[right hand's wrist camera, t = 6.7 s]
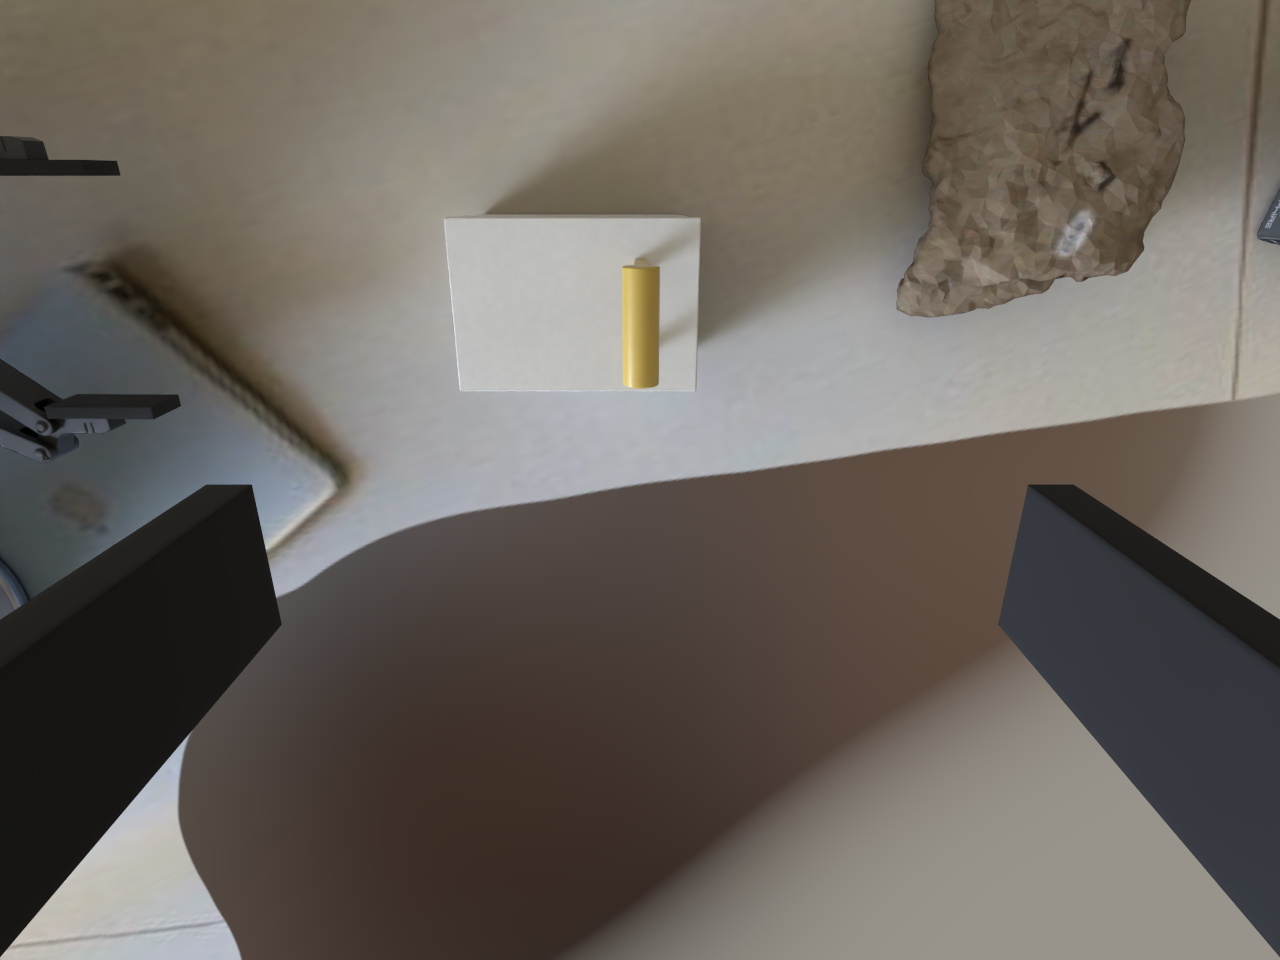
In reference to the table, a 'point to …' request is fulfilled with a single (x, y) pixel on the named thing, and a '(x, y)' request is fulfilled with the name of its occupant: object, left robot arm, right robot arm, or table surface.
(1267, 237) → the graphics card box
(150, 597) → the right robot arm
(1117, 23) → the stone
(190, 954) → the table surface
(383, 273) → the table surface
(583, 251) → the lid
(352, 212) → the table surface
